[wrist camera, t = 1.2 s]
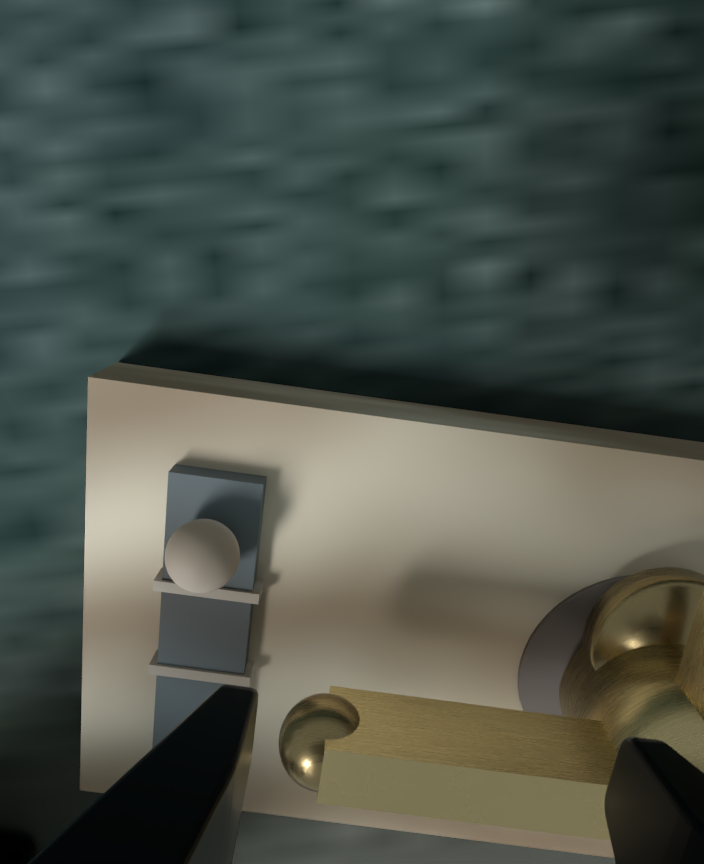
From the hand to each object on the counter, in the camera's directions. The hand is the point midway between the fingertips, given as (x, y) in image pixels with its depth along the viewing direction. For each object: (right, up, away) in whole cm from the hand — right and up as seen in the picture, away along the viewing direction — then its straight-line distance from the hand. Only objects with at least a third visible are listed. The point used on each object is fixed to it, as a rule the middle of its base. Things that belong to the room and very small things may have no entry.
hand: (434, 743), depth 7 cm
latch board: (+4, -2, +13) cm, 14 cm away
